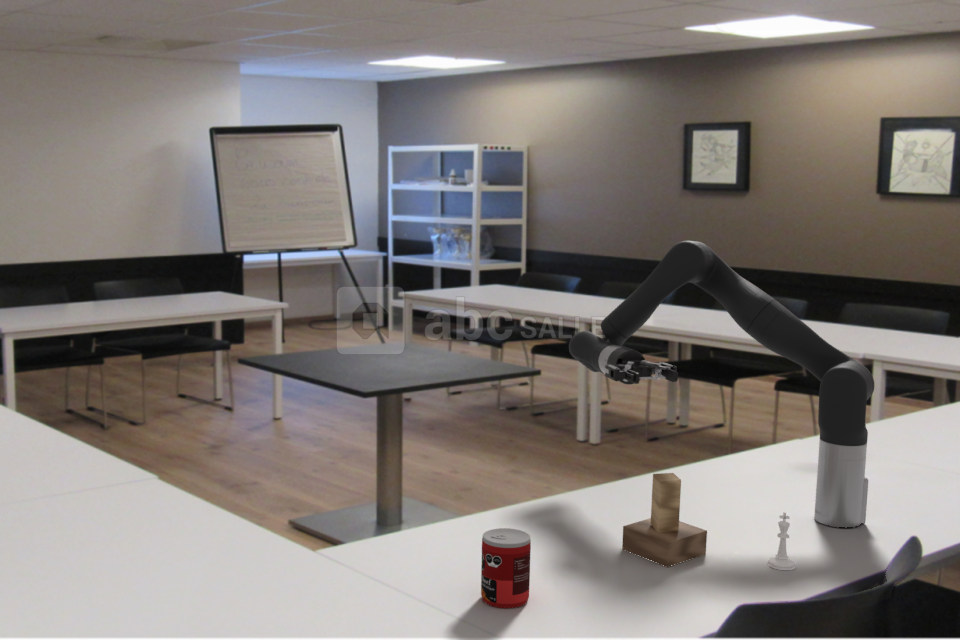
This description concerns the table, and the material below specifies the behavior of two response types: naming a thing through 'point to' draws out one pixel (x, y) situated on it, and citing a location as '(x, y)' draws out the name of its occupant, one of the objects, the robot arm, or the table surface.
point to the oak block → (665, 502)
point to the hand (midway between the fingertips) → (657, 377)
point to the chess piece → (782, 548)
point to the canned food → (505, 567)
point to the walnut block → (664, 542)
